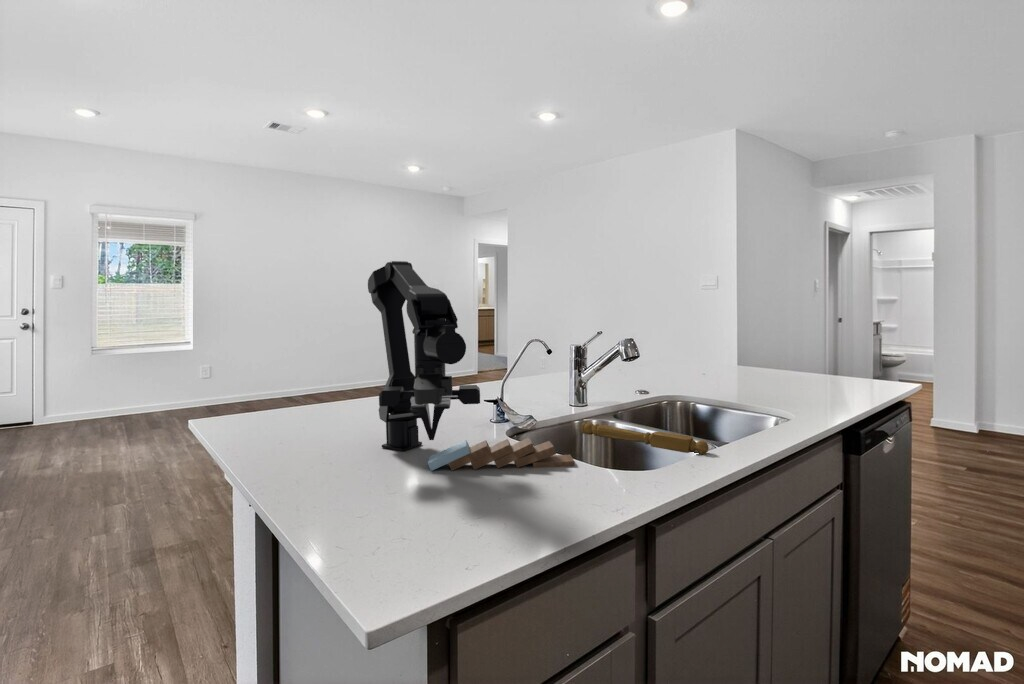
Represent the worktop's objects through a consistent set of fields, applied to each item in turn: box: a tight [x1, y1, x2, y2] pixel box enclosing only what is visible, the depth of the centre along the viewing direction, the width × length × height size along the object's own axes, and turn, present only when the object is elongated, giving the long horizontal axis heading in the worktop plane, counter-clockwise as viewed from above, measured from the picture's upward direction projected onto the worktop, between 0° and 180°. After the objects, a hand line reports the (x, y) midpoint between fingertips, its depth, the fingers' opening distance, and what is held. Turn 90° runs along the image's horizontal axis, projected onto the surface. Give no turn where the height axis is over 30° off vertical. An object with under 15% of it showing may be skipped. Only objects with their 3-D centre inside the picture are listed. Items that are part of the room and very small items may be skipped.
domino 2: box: [447, 439, 491, 471], centre depth 108 cm, size 2×4×8 cm
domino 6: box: [531, 454, 575, 469], centre depth 110 cm, size 2×4×8 cm
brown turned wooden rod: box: [580, 421, 710, 455], centre depth 125 cm, size 3×3×30 cm
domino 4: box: [493, 436, 535, 469], centre depth 109 cm, size 2×4×8 cm
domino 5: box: [513, 440, 557, 469], centre depth 110 cm, size 2×4×8 cm
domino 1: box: [427, 439, 471, 472], centre depth 108 cm, size 2×4×8 cm
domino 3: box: [470, 438, 512, 471], centre depth 109 cm, size 2×4×8 cm
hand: (431, 439), depth 108 cm, fingers closed
